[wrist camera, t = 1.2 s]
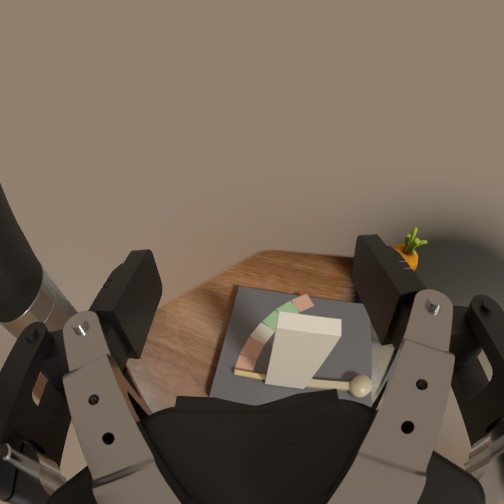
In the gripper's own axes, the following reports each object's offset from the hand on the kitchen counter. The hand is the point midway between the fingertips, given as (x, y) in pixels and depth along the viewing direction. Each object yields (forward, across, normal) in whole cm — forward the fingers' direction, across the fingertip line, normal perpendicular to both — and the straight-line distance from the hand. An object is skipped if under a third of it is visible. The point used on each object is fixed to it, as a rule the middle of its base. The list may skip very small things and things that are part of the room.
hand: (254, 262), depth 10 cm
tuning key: (+9, -5, +25) cm, 27 cm away
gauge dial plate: (+15, -5, +26) cm, 30 cm away
